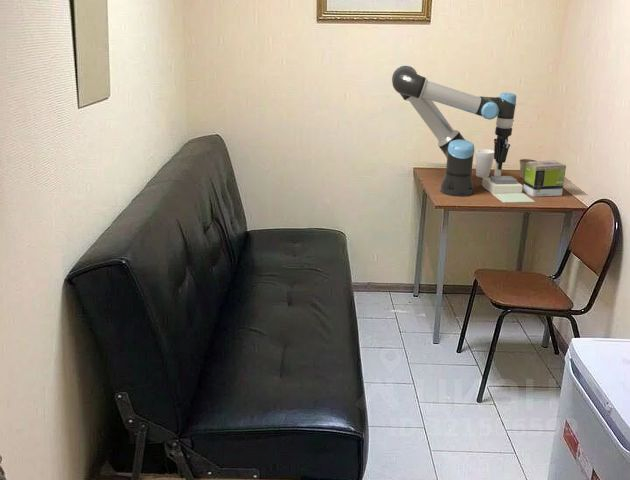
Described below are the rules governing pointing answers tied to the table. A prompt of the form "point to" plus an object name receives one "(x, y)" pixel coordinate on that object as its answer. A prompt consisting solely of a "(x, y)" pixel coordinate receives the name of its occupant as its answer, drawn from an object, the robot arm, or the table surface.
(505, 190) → the plate
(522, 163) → the flower pot
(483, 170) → the foam cup
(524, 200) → the mat
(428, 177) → the table surface
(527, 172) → the tea box
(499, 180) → the rectangular block
